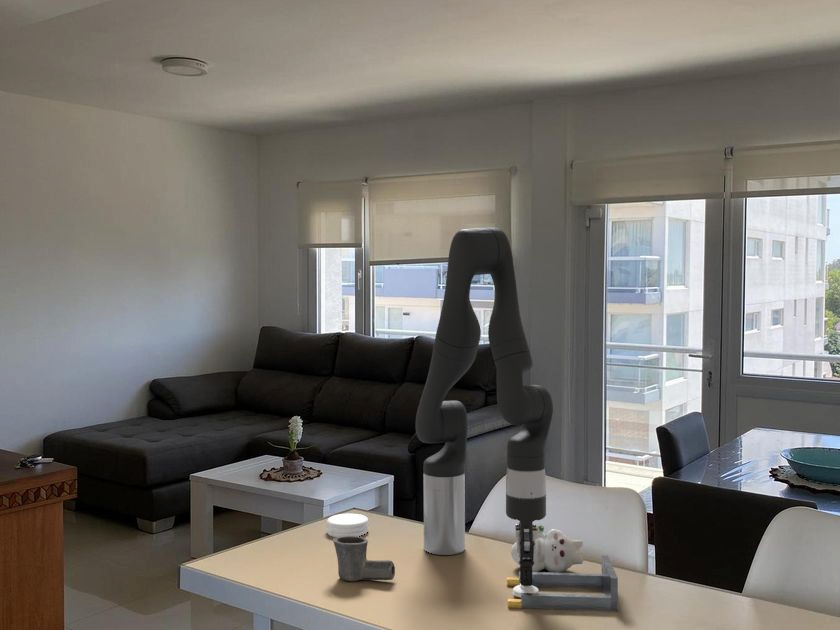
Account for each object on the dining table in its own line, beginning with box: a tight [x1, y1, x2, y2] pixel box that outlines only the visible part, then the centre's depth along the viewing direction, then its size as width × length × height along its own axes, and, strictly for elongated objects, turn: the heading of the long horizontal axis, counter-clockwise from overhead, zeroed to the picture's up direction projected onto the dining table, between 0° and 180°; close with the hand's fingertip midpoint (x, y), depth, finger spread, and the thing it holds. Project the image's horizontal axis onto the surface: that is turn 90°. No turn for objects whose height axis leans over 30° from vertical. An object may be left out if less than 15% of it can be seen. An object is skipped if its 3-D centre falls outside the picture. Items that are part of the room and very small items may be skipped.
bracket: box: [506, 555, 619, 612], centre depth 148 cm, size 12×20×6 cm, turn 85°
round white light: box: [326, 513, 370, 538], centre depth 190 cm, size 10×10×4 cm
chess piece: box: [512, 558, 540, 598], centre depth 149 cm, size 5×5×10 cm
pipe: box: [332, 536, 396, 582], centre depth 158 cm, size 6×13×8 cm, turn 76°
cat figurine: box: [510, 524, 584, 573], centre depth 163 cm, size 10×8×15 cm
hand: (526, 582), depth 149 cm, fingers closed on chess piece
